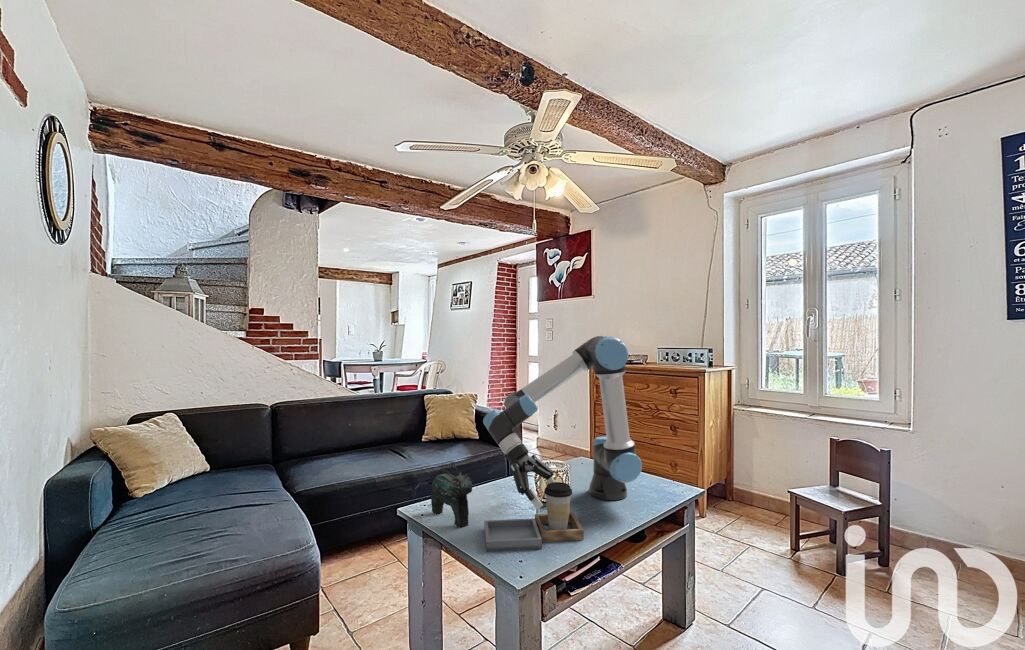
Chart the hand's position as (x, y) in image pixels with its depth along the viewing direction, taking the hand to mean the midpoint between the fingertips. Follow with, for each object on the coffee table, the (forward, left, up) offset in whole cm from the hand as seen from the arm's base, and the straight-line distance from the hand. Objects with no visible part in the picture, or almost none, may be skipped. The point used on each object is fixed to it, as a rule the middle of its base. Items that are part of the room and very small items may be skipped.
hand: (550, 501), depth 154 cm
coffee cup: (-2, +1, -10) cm, 10 cm away
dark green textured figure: (+34, -11, -10) cm, 37 cm away
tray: (+14, +5, -10) cm, 17 cm away
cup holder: (-2, +1, -10) cm, 10 cm away
